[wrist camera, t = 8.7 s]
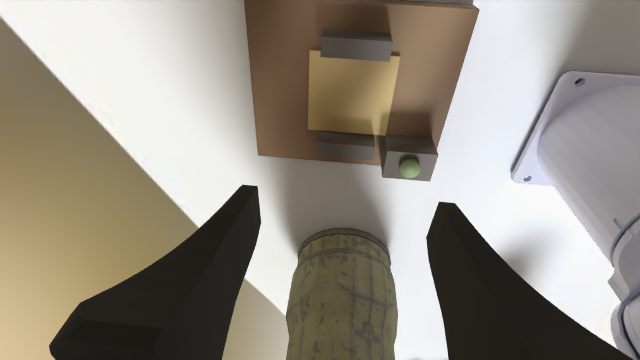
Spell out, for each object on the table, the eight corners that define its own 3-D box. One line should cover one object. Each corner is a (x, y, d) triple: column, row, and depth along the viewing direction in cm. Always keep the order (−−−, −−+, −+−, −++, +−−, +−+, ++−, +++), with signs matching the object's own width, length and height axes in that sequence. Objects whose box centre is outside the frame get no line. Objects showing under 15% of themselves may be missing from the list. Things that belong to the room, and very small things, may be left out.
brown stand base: (472, 4, 18) (495, 21, 15) (427, 159, 24) (437, 192, 21) (249, -10, 18) (230, 4, 15) (261, 146, 24) (249, 176, 22)
